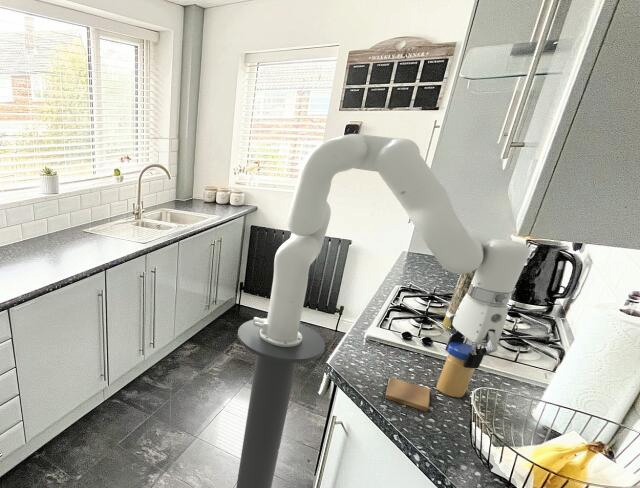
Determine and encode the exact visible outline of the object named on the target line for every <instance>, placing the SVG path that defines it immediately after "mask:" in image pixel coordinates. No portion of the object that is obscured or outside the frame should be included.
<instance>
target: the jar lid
mask: <svg viewBox="0 0 640 488" xmlns="http://www.w3.org/2000/svg"><path fill="white" fill-rule="evenodd" d="M471 351H472V344H470V343H466V342H463V343H462V342H451V343H450V344H449V346H448V348H447V351H446V352H447V353H448V355H449V354H450V355H452V356H454V357H456V358H458V359H461V360H464V361H465V360H466V358H467V355H468V353H471Z"/></svg>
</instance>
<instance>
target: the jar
mask: <svg viewBox="0 0 640 488" xmlns="http://www.w3.org/2000/svg"><path fill="white" fill-rule="evenodd" d="M464 362H465V361H464V360H461V359H458V358H456V357H454V356H452V355H450V354H449V353H448V355H447V356H446V359H445V362H444V365H443V367H442V369H441V371H440V374H439V378H438V380H437V382H436V385H435V386H436V387H435V388H436V389H437V390H438V391H439V392H441V393H442V394H443V395H446V396H449V397H452V398H462V397H464V396H465V395H466V393H467V389H468V388H469V385H470V383H471V380H472V378H473V375H474V373H475V371H476V369H477V368H465V367H464V366H463V365H464Z"/></svg>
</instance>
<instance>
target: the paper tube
mask: <svg viewBox="0 0 640 488" xmlns="http://www.w3.org/2000/svg"><path fill="white" fill-rule="evenodd" d="M476 270H477V269H475V270H474V271H472V272H469V273H466V274H459V277H458V280H457V283H456V286H455V288H454V291H453V293H452V296H451V299H450V302H449V305H448V308H447V310H446V313H445V316H444V319H443V321H442V327H443V328H444V329H446V330H448V331H450V332H451V329H450V325H451V323H450V316H453V315H455V314H456V311H457V309H458V307H459V305H460V303H461V301H462V300H463V298H464V296H465V295H466V293H467V292H468V289H469V287H470V284H471V282H472V280H473V277H474V275H475V272H476ZM443 324H444V325H445V326H444V325H443ZM446 326H447V327H446ZM448 327H449V328H448Z"/></svg>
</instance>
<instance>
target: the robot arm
mask: <svg viewBox="0 0 640 488" xmlns="http://www.w3.org/2000/svg"><path fill="white" fill-rule="evenodd" d="M353 169H355V170H362V171H369V172H376V173H378V174H379V177H381V179H382V180H383V181H384V183H385V184H386V186H387V187H388V188H389V190H390V191H391V193H392V194H393V195H394V196H395V198H396V199H397V200H398V202H399V203H400V205H401V206H402V208H403V209H404V210H405V212H406V213H407V215H408V217H409V219H410V221H411V223H412V224H413V225H414V227H415V229H416V231H417V232H418V234H419V235H420V237H421V239H422V240H423V242H424V243H425V246H426V247H427V248H428V249H429V251H430V252H431V254H432V255H433V257H434V258H435V259H436V260H437V262H438V263H439V265H440V266H441V267H442V268H443V269H444V270H445V271H447V272H449V273H452V274H455V275H456V274H457V275H461V274H466V273H469V272H472V271H474V270H475V269H477V270H476V272H475V275H474V277H473V280H472V282H471V284H470V287H469V289H468V292H467V293H466V295H465V296H464V298H463V300H462V301H461V303H460V305H459V307H458V309H457V311H456V314H455V315H453V316H450V323H451V325H450V328H451V331H450V332H449V339H448V342H447V344H446V346H445V349H444V350H445V351H446V352H447V348H448V346H449V344H450V343H451V342H462V343H465V342H464V341H465V338H466V339H468V340H469V341H470V342H471V345H472V351H471V353H468V355H467V358H466V360H465V362H464V365H463V366H464V367H465V368H476V369H479V367H480V366H481V364H482V361H483V359H484V357H486V356H488V355H490V354H492V353H495V352H497V351H499V347H498V342H499V341H500V338H501V335H502V333H503V330H504V327H505V324H506V322H507V317H508V313H509V312H508V311H509V306H508V304H509V302H510V299H511V296H512V293H513V292H514V289H515V287H516V285H517V283H518V280H519V278H520V276H521V274H522V272H523V270H524V267H525V265H526V262H527V260H528V259H529V256H530V252H531V249H530V247H529V246H528V245H527V244H525V243H523V242H520V241H517V240H511V239H496V238H491V237H487V236H483V235H480V234H476V233H473V232H469V231H467V229H466V228H465V226H464V225H463V223H462V221H461V220H460V219H459V217H458V214H456V211H455V209H454V206H453V205H452V202H451V198H450V195H449V192H447V189H446V188H445V186H444V184H442V183H441V181H440V180H439V179H438V177H437V176H436V174H435V173H434V172H433V170H432V169H431V168H430V166H429V164H427V162H426V161H425V159H424V158H423V156H422V155H421V150H420V148H419V145H418V144H417V142H415V141H414V140H411V139H410V138H409V139H408V138H402V137H401V138H398V137H389V136H378V135H371V134H370V135H369V134H363V133H362V134H360V133H348V134H343V135H340V136H337V137H334V138H331V139H328V140H325V141H323V142H321V143H320V144H318V145H316V146H314V147H313V149H311V150H310V151H309V152H308V153H307V155H306V156H305V158H303V161H302V163H301V166H300V168H299V172H298V175H297V176H298V177H297V180H296V185H295V188H294V191H293V196H292V199H291V203H290V207H289V211H288V214H287V219H286V224H287V228H288V229H289V231H290V237H289V239H287V240H285V241H284V242H283V243H282V244H281V245H280V246H279V247H278V249H277V250H276V252H275V255H274V260H273V261H274V262H273V278H272V285H271V291H270V299H269V304H268V311H267V316H266V318H267V319H260V318H261V317H257V316H254V317H253V319H254V320H253V319H252V320H253V323H255V324H254V326H257V327H261V330H260V336H261V338H262V339H263V340H264V341H266V342H268V343H270V344H272V345H276V346H280V347H293V346H297V345H299V344H300V343H301V342H302V335H301V334H300V333H299V332H298V330H299V325H300V324H301V319H302V314H303V309H304V304H305V299H306V294H307V288H308V281H309V272H310V266H312V264H313V263H314V261H315V260H317V258H318V257H319V255H320V254H321V251H322V249H323V248H322V247H323V245H324V241H325V237H326V234H327V230H328V227H329V224H330V220H331V215H332V214H331V213H332V209H331V206H330V204H329V202H328V196H329V194H330V192H331V186H332V182H333V179H334V177H335V176H336V175H337V174H340V173H342V172H346V171H350V170H353ZM464 337H465V338H464ZM479 345H481V347H480V348H479Z"/></svg>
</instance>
